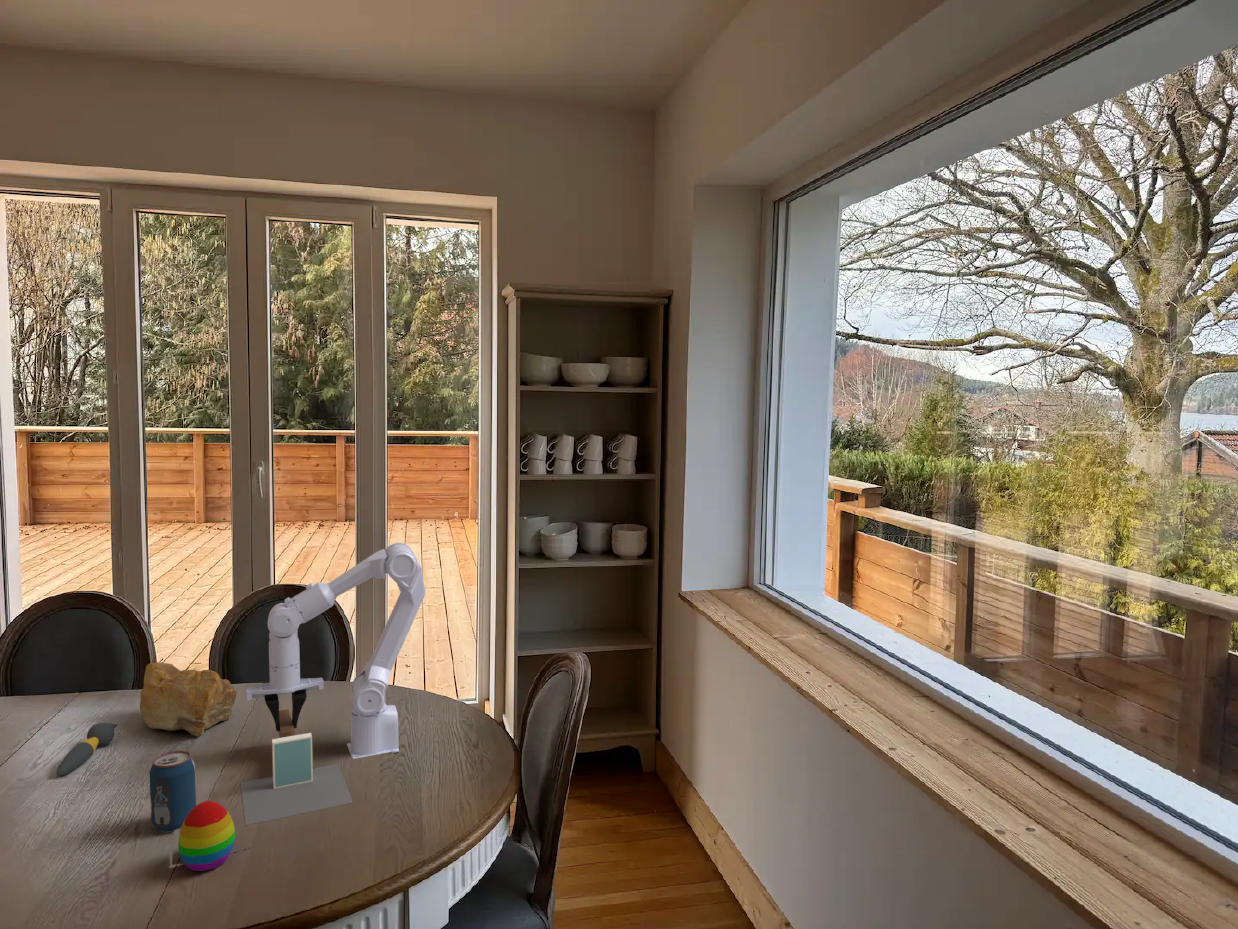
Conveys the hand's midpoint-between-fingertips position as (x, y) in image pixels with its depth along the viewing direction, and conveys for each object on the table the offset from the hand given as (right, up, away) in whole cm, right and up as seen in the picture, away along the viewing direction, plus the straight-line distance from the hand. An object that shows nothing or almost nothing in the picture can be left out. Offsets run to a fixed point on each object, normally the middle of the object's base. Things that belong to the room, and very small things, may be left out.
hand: (286, 728), depth 167 cm
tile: (+5, -7, -10) cm, 13 cm away
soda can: (-10, -9, -24) cm, 27 cm away
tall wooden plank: (0, -2, 0) cm, 2 cm away
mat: (+7, -8, -13) cm, 17 cm away
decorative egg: (+1, -11, -35) cm, 36 cm away
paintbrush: (-41, -7, +1) cm, 42 cm away
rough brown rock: (-27, -5, +18) cm, 33 cm away
